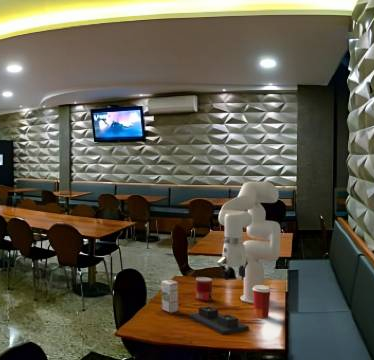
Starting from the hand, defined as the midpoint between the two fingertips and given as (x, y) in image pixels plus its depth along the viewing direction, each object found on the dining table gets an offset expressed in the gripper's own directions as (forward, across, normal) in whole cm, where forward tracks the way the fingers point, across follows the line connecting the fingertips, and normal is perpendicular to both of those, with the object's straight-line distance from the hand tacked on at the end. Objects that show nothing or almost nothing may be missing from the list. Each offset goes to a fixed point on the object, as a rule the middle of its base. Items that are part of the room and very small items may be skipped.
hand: (233, 277), depth 202 cm
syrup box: (+20, -17, +24) cm, 36 cm away
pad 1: (+19, -8, +7) cm, 22 cm away
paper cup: (+21, +17, 0) cm, 27 cm away
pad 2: (+19, -8, -5) cm, 21 cm away
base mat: (+20, -8, +1) cm, 22 cm away
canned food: (+21, +10, +31) cm, 39 cm away
